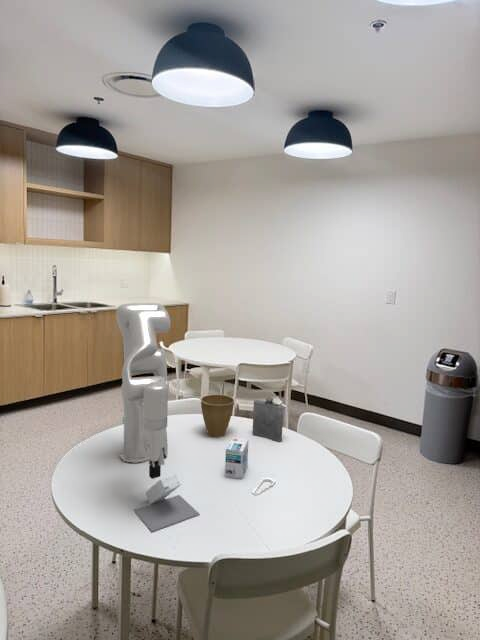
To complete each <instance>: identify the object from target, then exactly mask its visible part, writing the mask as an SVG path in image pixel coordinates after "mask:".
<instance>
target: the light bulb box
mask: <svg viewBox="0 0 480 640" xmlns="http://www.w3.org/2000/svg"><path fill="white" fill-rule="evenodd" d="M224 461H225V462H224V464H225V466H224V477H227V478H234V479H240V480H242V479H243V478H244V476H245V474H246V471H247V469H248V461H249V440H248V439H243V438H242V439H241V438H236V437H235V438H234V437H232V438H231V439H230V440H229V442H228V444H227V447H226V448H225V460H224Z"/></svg>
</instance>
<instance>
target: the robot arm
mask: <svg viewBox="0 0 480 640" xmlns="http://www.w3.org/2000/svg"><path fill="white" fill-rule="evenodd" d="M115 312H116V313H115V315H116V323H117V325H118V329H119V331H120V333H121V336H122V341H123V361H124V362H123V366H122V369H121V370H122V371H121V379H122V384H121V397H122V403H123V405H122V406H123V450H121V451H120V453H119V458H120V457H121V459H123V460H125V461H127V462H126V463H128V462H132V463H131V464H139V462H140V463H145V462H147V461H148V464H149V466H148V473H149V474H148V476H149V478H150V479H151V480H153V479H157V478H159V477H161V475H162V474H161V471H162V470H161V469H162V468H161V466H163V465H165V460H166V459H167V458H168V452H169V451H168V449H169V448H168V447H169V446H168V433H167V428H168V405H169V404H168V402H169V401H168V400H169V399H168V396H169V394H168V392H169V384H168V383H169V382H168V370H167V369H168V367H167V365H168V364H167V357H166V353H165V351H164V350H163V349H161V348H159V347H158V343H157V336H156V334H164V333H168V332H169V331H170V328H171V317H170V315H169V313H168V311H167V309H166V308H165V307H164V306H163V305H162V304H160V303H155V302H154V303H153V302H152V303H151V302H150V303H148V302H146V303H142V302H141V303H140V302H139V303H138V302H137V303H135V302H134V303H124V304H121V305H119V306H118V307H117V308H116V311H115ZM137 374H153V376H139V377H132V375H137ZM121 459H120V460H121ZM123 460H122V461H123ZM125 461H124V462H125Z"/></svg>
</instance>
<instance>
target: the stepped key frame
mask: <svg viewBox="0 0 480 640" xmlns="http://www.w3.org/2000/svg"><path fill="white" fill-rule="evenodd" d="M268 482H269V483H271V484H269V485H268V486H267V487H264V488H263V489H262V490H261V491H259V492H257V491H258V489H259V488H260V487H261V486H262V485H263V483H268ZM275 484H276V480H275V479H274V478H272V477H270V476H269V477H261V478H260V479H259V481H258V482H257V484H256V485H255V487H254V489H253V490H252V491H251V494H252V495H253V496H260V495H261V494H262V493H264V492H266V491H268V490H269V489H270V488H273V487H274V486H275ZM256 492H257V493H256Z"/></svg>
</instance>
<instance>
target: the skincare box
mask: <svg viewBox="0 0 480 640" xmlns="http://www.w3.org/2000/svg"><path fill="white" fill-rule="evenodd" d="M181 485H182V484H181V482H180V479H179V478H178V475H177V473H176V472H174V473H172V474H170V475H168V476H165V477H163V478H160V479H159V480H158V481H157V482H156V483H155V484H154V485H152V486H151V487H150V488H149V489H147V491H145V496H146V498H147V501H148V504H149V505H150V504H153V503H156V502H159V501H162V500H165V499H166V498H168V496H170V495H171V494H172V493H174V491H175V490H177V489H178V488H179V487H181Z"/></svg>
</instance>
